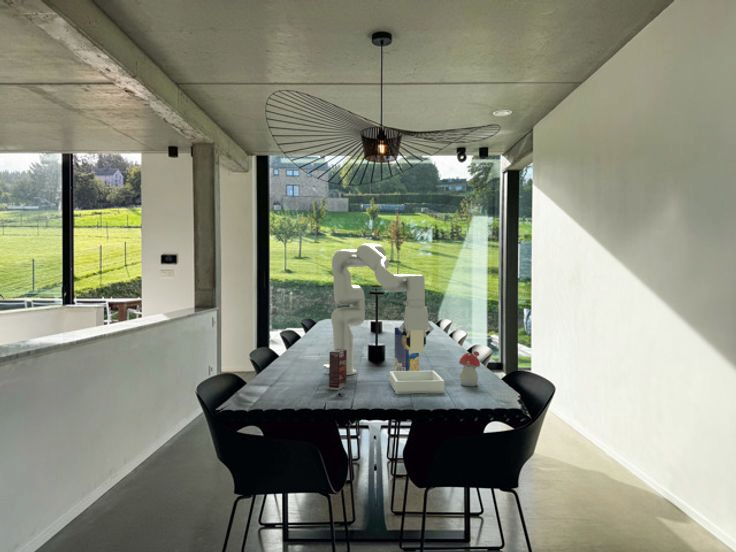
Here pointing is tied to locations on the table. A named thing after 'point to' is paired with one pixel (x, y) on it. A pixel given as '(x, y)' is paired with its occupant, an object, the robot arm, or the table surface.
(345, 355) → the supplement box
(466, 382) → the decorative ornament
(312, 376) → the table surface
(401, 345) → the blue cardboard box
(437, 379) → the tray
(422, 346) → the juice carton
